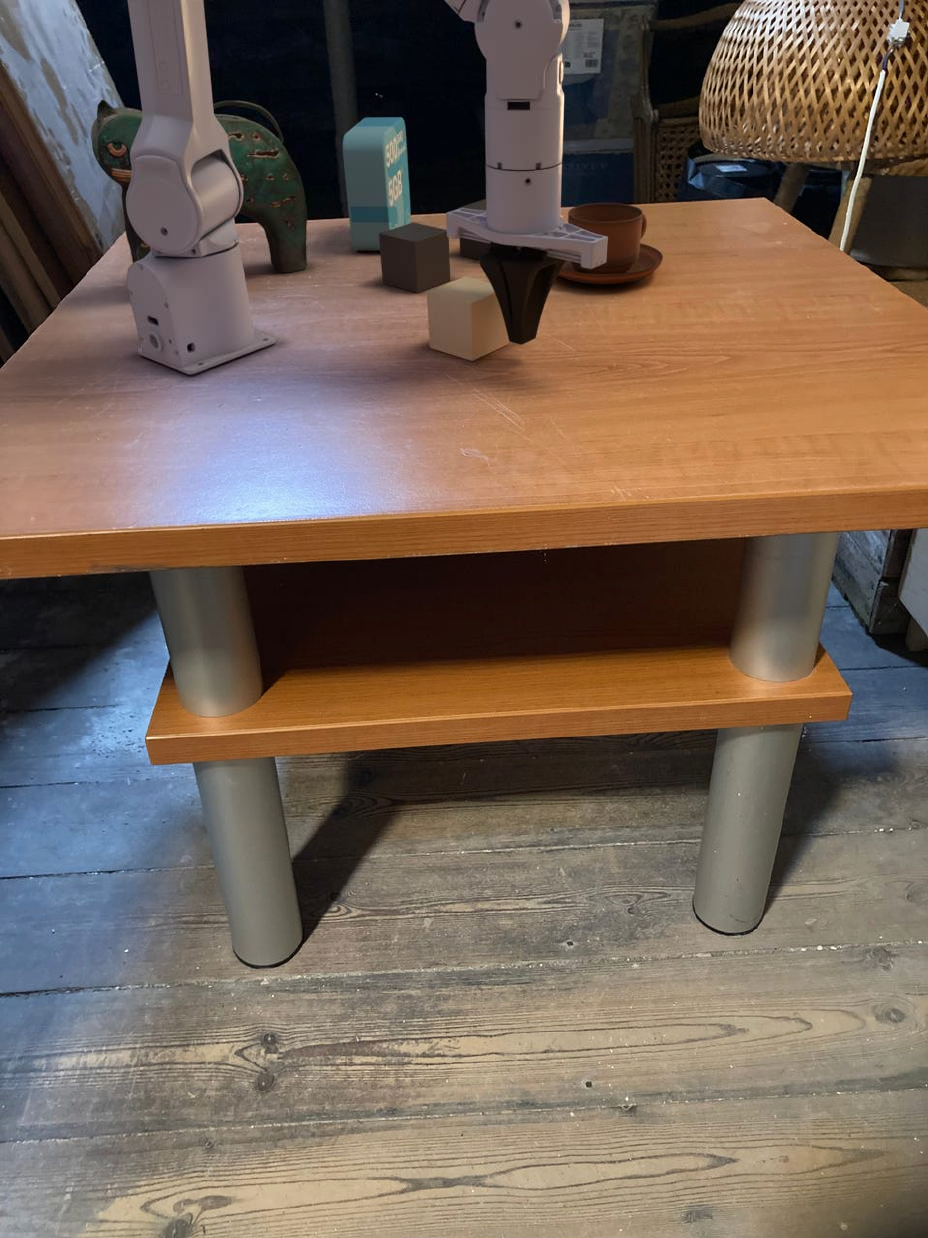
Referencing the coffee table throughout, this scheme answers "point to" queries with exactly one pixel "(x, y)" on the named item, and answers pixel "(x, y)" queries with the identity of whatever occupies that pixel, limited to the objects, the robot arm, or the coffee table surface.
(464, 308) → the cream block
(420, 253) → the middle block
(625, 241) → the cup and saucer
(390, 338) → the coffee table surface
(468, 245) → the far block
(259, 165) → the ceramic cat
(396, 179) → the data package
